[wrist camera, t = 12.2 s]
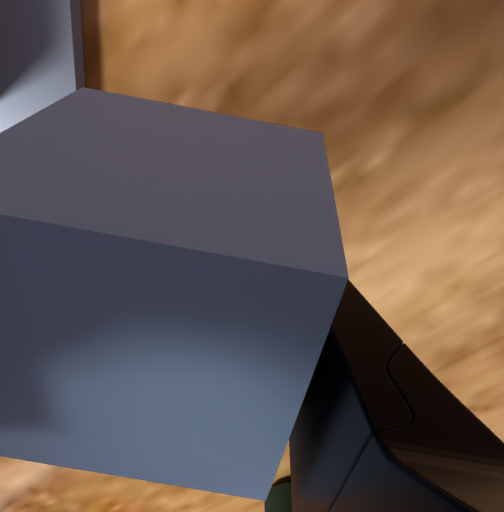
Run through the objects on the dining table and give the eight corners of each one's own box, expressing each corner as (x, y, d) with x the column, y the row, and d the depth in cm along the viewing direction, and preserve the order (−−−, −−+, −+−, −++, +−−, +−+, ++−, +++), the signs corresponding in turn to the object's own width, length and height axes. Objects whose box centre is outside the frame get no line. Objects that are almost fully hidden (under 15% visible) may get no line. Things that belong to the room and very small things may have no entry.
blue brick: (275, 311, 12) (265, 501, 7) (94, 278, 11) (-20, 453, 7) (322, 133, 9) (348, 277, 5) (82, 86, 9) (-111, 194, 5)
